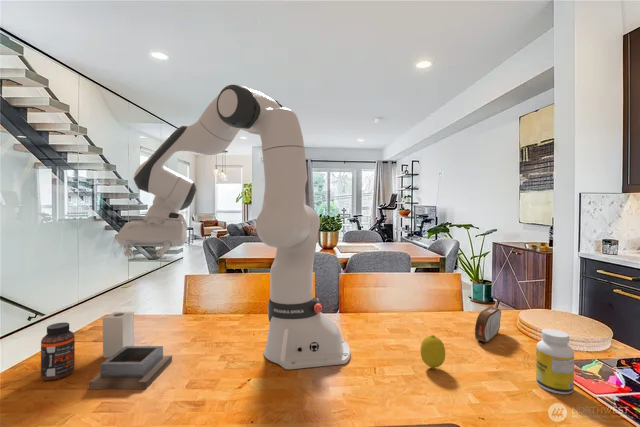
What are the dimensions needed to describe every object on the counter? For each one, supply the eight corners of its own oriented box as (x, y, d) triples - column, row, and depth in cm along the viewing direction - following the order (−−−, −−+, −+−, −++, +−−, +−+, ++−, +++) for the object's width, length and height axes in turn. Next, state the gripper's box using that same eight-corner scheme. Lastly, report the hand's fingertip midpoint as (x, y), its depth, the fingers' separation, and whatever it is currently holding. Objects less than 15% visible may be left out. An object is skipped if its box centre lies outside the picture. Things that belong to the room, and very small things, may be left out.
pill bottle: (537, 375, 73) (538, 324, 73) (574, 386, 69) (574, 331, 69) (534, 388, 68) (534, 333, 68) (573, 399, 64) (574, 341, 64)
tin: (491, 329, 101) (491, 302, 101) (502, 332, 98) (502, 305, 98) (473, 344, 90) (473, 314, 90) (485, 347, 88) (485, 316, 88)
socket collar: (163, 358, 78) (162, 346, 78) (142, 378, 69) (142, 364, 69) (125, 358, 78) (125, 346, 78) (100, 378, 69) (100, 364, 69)
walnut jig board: (172, 361, 79) (172, 355, 79) (146, 388, 67) (146, 381, 67) (123, 361, 79) (122, 355, 79) (88, 389, 67) (88, 382, 67)
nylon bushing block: (134, 348, 87) (133, 311, 87) (122, 357, 82) (122, 317, 82) (115, 348, 87) (115, 311, 86) (103, 357, 82) (102, 317, 81)
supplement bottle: (55, 383, 70) (55, 331, 69) (33, 380, 71) (33, 328, 71) (81, 369, 75) (80, 321, 75) (60, 367, 77) (60, 319, 76)
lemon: (429, 376, 73) (429, 340, 73) (415, 364, 78) (416, 331, 78) (450, 372, 74) (450, 338, 74) (435, 361, 79) (435, 329, 79)
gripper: (123, 214, 103) (103, 248, 94) (187, 214, 103) (174, 249, 94) (131, 227, 108) (112, 261, 98) (192, 227, 108) (180, 261, 98)
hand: (143, 255), depth 96 cm, fingers open, 8 cm apart
